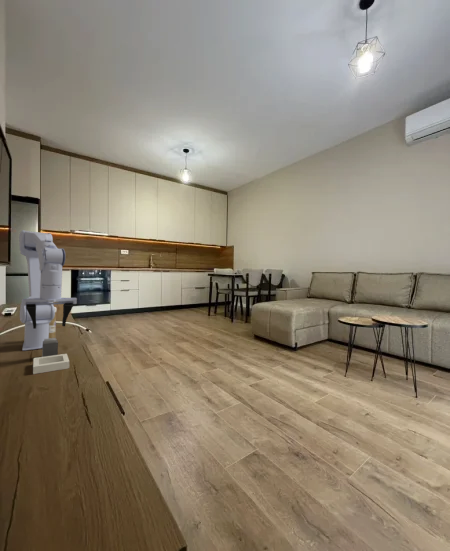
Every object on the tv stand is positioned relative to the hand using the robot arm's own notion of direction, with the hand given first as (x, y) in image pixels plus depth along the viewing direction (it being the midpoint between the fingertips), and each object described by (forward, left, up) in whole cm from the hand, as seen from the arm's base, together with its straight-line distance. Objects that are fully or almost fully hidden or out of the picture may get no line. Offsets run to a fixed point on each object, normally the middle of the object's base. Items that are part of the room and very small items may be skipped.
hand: (49, 326), depth 82 cm
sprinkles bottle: (-25, +1, -11) cm, 27 cm away
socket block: (+9, 0, -10) cm, 13 cm away
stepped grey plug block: (-1, 0, -10) cm, 10 cm away
